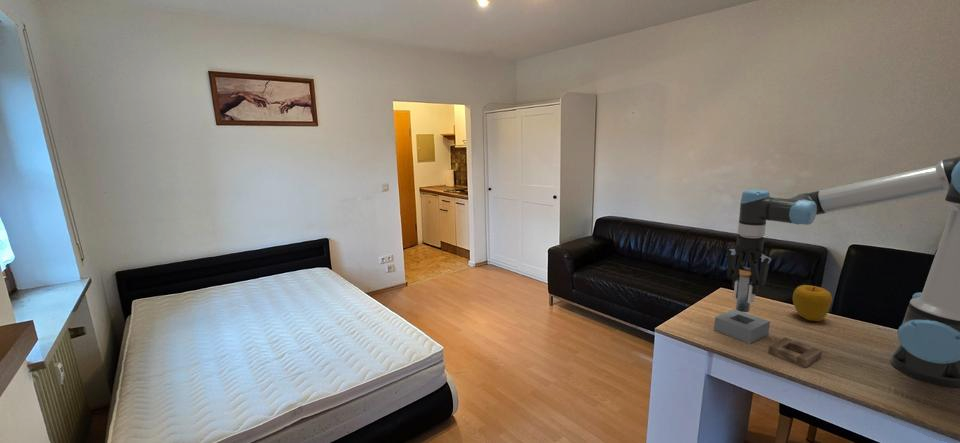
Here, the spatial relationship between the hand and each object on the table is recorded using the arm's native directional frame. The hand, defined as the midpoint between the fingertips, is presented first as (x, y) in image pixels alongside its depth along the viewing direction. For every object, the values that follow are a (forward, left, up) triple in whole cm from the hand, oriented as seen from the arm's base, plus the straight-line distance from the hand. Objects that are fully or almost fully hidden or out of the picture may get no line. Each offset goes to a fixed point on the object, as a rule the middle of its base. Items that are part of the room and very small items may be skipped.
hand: (743, 299), depth 135 cm
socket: (0, 0, -12) cm, 12 cm away
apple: (-8, -31, -13) cm, 34 cm away
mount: (-17, +2, -12) cm, 21 cm away
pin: (0, 0, -4) cm, 4 cm away
